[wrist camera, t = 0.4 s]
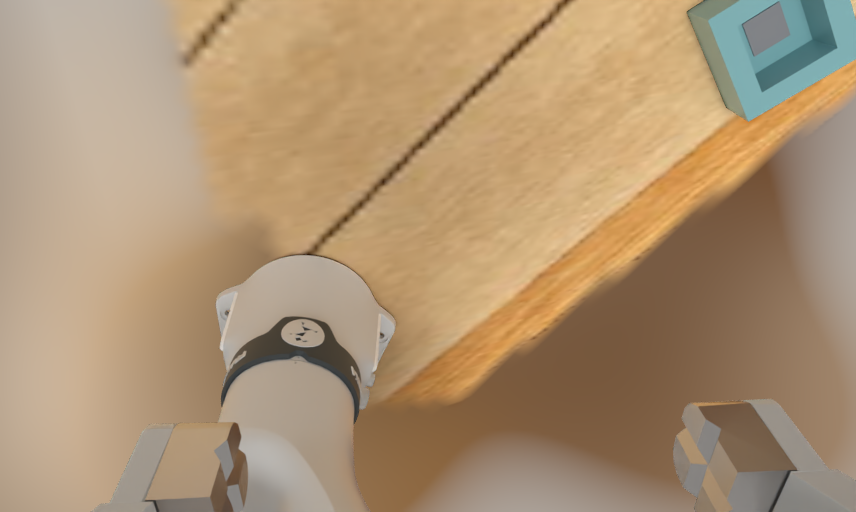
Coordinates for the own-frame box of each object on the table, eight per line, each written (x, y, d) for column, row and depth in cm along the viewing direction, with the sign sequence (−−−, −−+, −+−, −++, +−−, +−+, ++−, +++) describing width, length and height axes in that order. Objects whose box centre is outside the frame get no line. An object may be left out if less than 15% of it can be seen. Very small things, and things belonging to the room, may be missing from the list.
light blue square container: (726, 107, 56) (748, 121, 53) (686, 11, 51) (707, 20, 48) (834, 43, 54) (864, 53, 50) (802, -63, 49) (834, -60, 46)
